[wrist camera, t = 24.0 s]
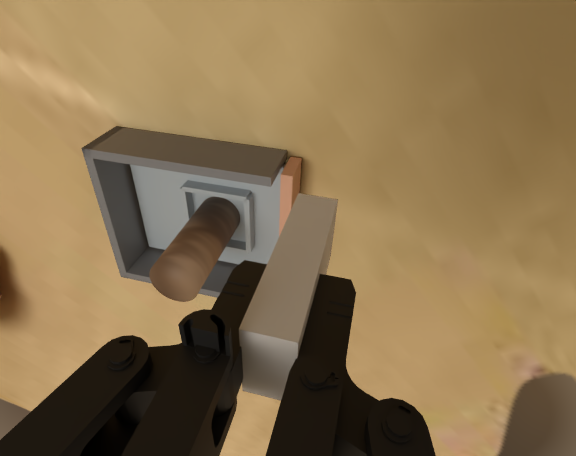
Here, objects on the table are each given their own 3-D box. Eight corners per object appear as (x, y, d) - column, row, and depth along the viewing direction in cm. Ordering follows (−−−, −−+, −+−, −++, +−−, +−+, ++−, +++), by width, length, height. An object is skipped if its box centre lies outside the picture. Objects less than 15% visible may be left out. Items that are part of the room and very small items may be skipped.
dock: (286, 150, 41) (270, 177, 36) (282, 275, 52) (269, 308, 47) (116, 126, 44) (81, 148, 40) (145, 248, 55) (121, 276, 50)
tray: (301, 158, 41) (292, 176, 38) (294, 276, 51) (287, 298, 48) (127, 133, 44) (105, 147, 41) (153, 248, 54) (137, 267, 51)
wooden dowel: (241, 201, 45) (197, 269, 35) (239, 235, 48) (199, 306, 38) (200, 192, 45) (146, 256, 36) (201, 226, 48) (152, 294, 39)
